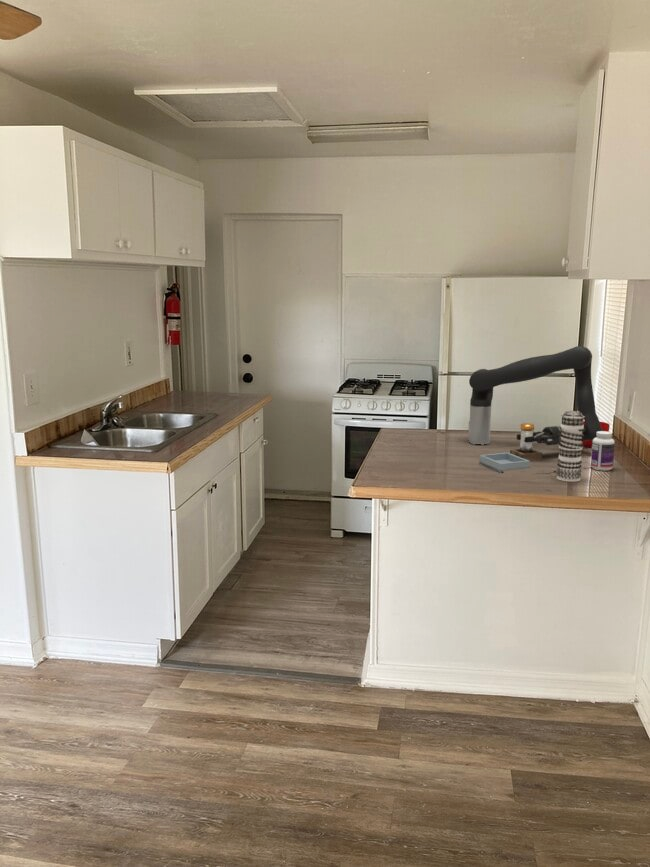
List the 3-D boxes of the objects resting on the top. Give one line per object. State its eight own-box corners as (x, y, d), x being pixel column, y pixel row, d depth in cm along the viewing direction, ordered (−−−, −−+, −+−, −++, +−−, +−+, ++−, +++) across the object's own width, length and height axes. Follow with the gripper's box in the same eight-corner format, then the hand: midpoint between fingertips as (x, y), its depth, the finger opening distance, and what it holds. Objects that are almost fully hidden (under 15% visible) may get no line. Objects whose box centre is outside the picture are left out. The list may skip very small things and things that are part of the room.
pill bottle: (614, 468, 278) (617, 431, 275) (609, 472, 271) (612, 435, 268) (593, 465, 282) (596, 429, 279) (588, 469, 276) (590, 433, 273)
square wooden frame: (509, 459, 292) (510, 449, 291) (528, 457, 295) (528, 448, 294) (522, 464, 284) (523, 454, 283) (541, 462, 287) (542, 452, 286)
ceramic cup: (566, 446, 314) (567, 424, 311) (586, 441, 324) (587, 419, 322) (594, 451, 304) (595, 429, 302) (613, 445, 315) (615, 423, 313)
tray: (479, 463, 285) (479, 455, 284) (507, 460, 289) (507, 452, 289) (500, 472, 271) (501, 464, 270) (529, 469, 276) (529, 461, 275)
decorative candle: (574, 474, 268) (578, 409, 263) (586, 481, 259) (591, 413, 254) (551, 475, 267) (555, 410, 262) (562, 482, 258) (567, 414, 253)
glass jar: (516, 457, 291) (518, 423, 288) (527, 456, 292) (529, 422, 289) (523, 460, 286) (525, 426, 283) (534, 459, 288) (536, 425, 285)
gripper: (545, 423, 298) (511, 426, 292) (568, 429, 285) (532, 432, 279) (544, 440, 299) (510, 443, 294) (567, 447, 286) (531, 451, 281)
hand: (521, 438), depth 286 cm, fingers closed on glass jar, 4 cm apart
